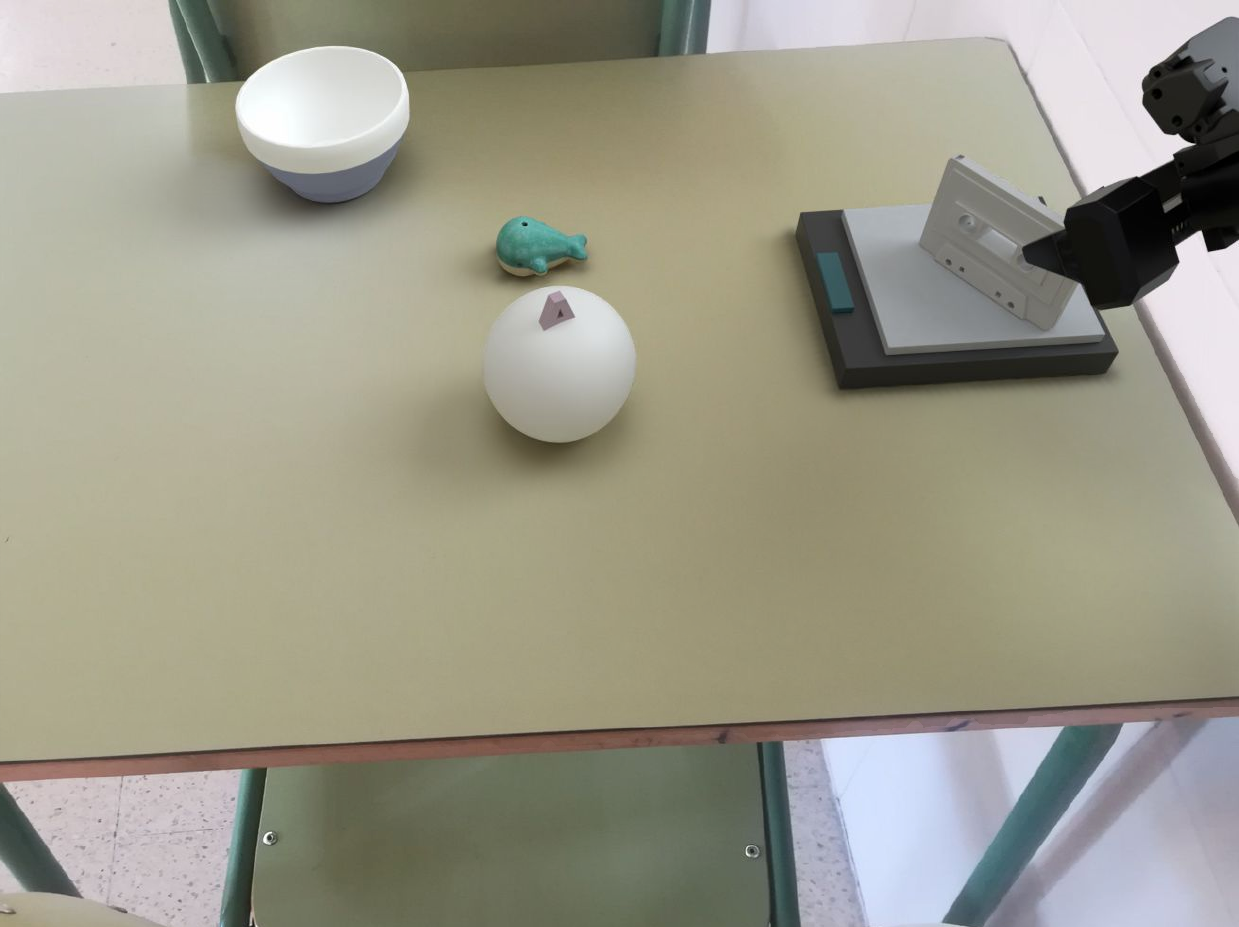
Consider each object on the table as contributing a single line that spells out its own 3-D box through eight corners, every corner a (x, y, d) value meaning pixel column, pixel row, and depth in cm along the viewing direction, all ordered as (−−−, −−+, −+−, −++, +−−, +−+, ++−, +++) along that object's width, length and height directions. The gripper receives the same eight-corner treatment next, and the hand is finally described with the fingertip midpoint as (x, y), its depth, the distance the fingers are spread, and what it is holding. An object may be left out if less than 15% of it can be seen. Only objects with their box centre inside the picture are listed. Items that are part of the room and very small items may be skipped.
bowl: (427, 213, 89) (417, 134, 83) (258, 238, 89) (235, 160, 82) (408, 113, 97) (397, 34, 91) (252, 136, 97) (231, 58, 90)
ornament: (566, 494, 72) (568, 372, 62) (459, 421, 76) (444, 296, 66) (658, 408, 76) (673, 280, 66) (551, 343, 80) (550, 213, 70)
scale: (1032, 218, 84) (1046, 187, 82) (1106, 373, 75) (1125, 343, 73) (794, 234, 85) (802, 203, 83) (839, 389, 76) (848, 360, 73)
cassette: (1060, 325, 74) (1108, 237, 68) (1042, 336, 73) (1089, 249, 67) (929, 236, 80) (962, 147, 73) (912, 246, 79) (943, 158, 73)
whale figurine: (499, 237, 87) (496, 199, 84) (587, 237, 86) (588, 198, 83) (495, 286, 84) (492, 248, 81) (587, 286, 83) (588, 247, 80)
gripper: (1412, -64, 54) (1131, 49, 69) (1179, 72, 49) (929, 163, 64) (1458, 143, 57) (1178, 210, 71) (1243, 291, 52) (989, 331, 66)
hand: (1073, 224), depth 68 cm, fingers open, 9 cm apart
